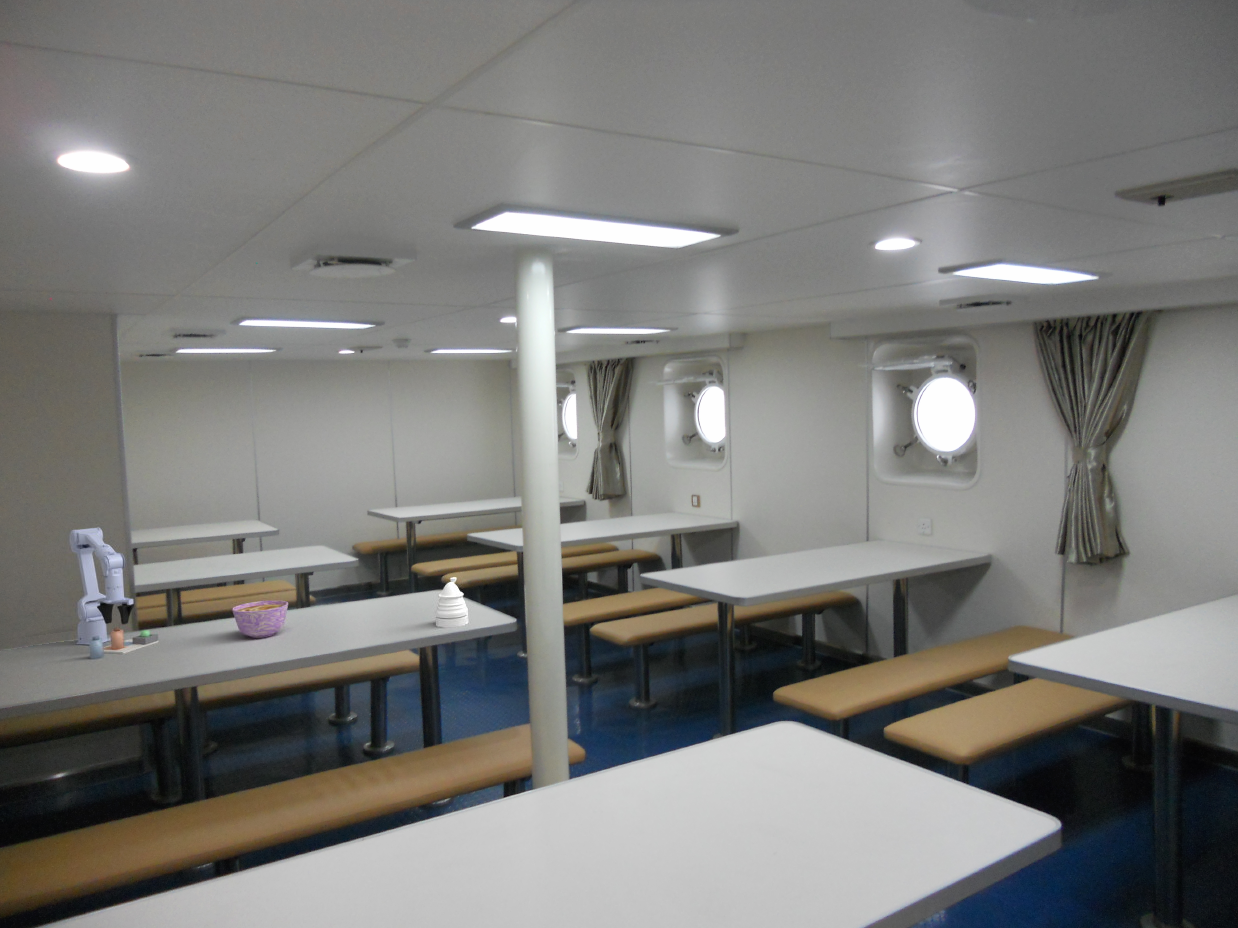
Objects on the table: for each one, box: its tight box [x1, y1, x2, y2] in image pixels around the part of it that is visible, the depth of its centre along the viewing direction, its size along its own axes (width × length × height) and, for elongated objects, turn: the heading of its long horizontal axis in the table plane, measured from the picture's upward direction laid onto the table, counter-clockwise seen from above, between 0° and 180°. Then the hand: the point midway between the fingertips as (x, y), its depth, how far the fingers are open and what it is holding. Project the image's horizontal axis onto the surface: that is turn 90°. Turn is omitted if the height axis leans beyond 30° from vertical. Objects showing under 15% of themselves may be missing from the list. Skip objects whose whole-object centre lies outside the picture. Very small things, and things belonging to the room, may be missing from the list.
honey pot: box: [434, 576, 469, 628], centre depth 330 cm, size 13×13×18 cm
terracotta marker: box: [110, 627, 125, 650], centre depth 306 cm, size 4×4×8 cm
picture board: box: [103, 633, 160, 654], centre depth 310 cm, size 14×16×3 cm
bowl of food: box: [232, 600, 289, 639], centre depth 321 cm, size 20×20×12 cm
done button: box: [140, 629, 151, 637], centre depth 314 cm, size 3×3×3 cm
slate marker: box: [88, 636, 105, 660], centre depth 296 cm, size 4×4×8 cm
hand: (116, 623), depth 306 cm, fingers open, 7 cm apart
